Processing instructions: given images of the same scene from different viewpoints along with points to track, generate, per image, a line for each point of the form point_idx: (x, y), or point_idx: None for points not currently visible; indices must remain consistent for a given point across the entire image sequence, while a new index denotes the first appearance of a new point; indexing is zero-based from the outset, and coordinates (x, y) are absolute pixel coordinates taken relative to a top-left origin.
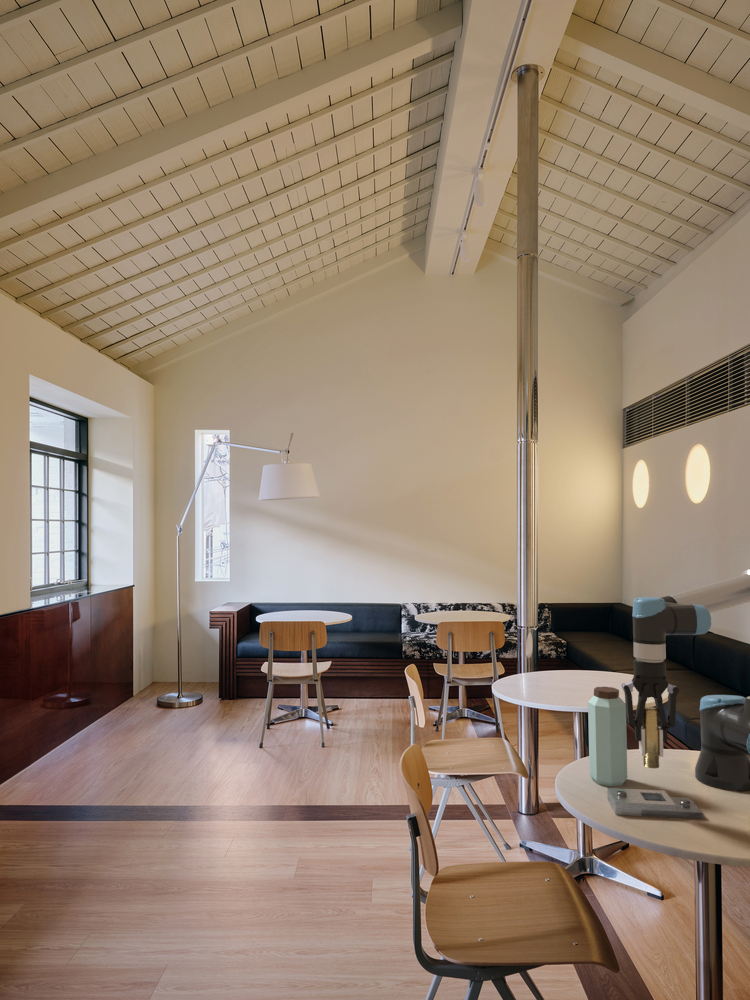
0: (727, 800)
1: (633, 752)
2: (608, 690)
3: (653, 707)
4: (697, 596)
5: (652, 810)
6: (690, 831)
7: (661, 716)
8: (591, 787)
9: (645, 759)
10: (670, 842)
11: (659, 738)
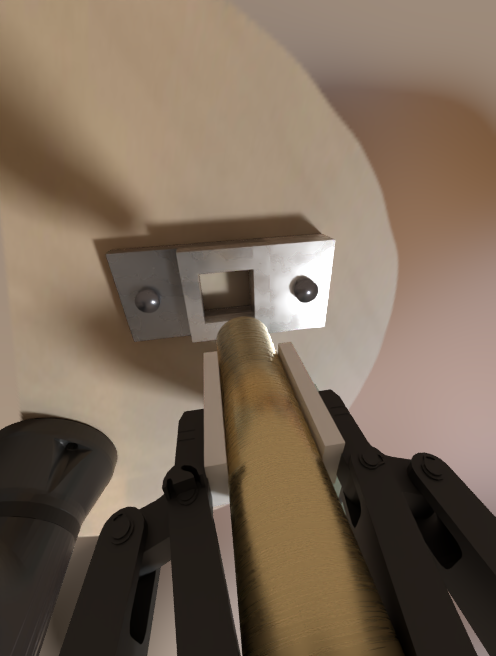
0: (49, 371)
1: None
2: None
3: None
4: None
5: (238, 243)
6: (149, 153)
7: (215, 606)
8: (325, 364)
9: (271, 341)
10: (220, 41)
11: (222, 416)
